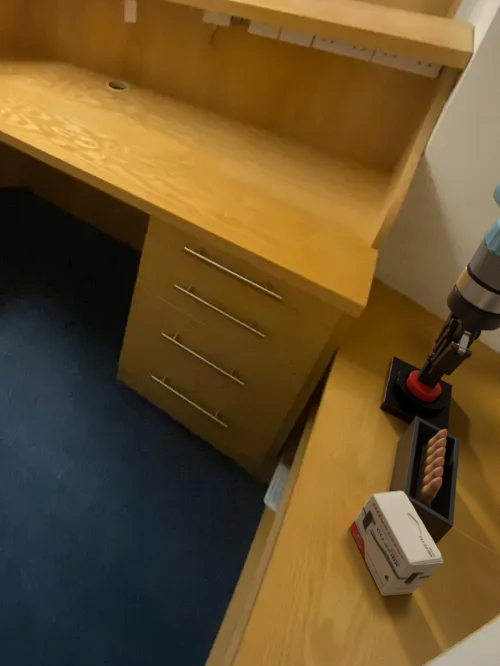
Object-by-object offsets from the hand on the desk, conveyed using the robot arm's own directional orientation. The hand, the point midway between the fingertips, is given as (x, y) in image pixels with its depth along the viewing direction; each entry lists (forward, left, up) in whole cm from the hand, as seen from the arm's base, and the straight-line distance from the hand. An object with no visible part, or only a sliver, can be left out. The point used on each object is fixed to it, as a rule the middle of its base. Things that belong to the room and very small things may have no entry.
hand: (425, 381), depth 95 cm
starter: (0, 0, -6) cm, 6 cm away
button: (0, 0, -2) cm, 2 cm away
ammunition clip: (+4, +18, -6) cm, 19 cm away
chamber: (+4, +18, -6) cm, 19 cm away
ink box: (+11, +30, -6) cm, 33 cm away
